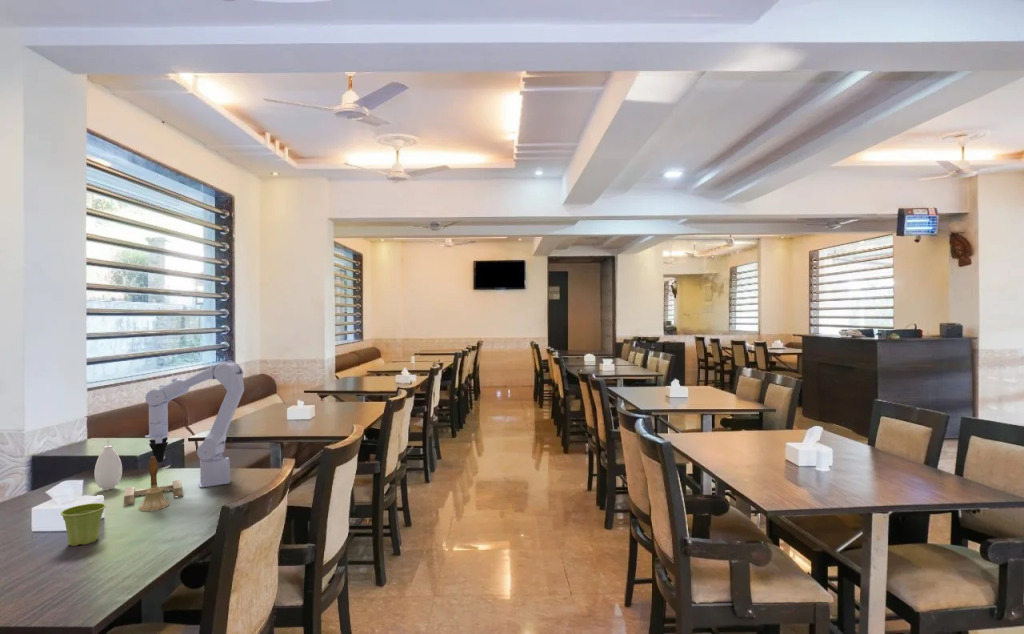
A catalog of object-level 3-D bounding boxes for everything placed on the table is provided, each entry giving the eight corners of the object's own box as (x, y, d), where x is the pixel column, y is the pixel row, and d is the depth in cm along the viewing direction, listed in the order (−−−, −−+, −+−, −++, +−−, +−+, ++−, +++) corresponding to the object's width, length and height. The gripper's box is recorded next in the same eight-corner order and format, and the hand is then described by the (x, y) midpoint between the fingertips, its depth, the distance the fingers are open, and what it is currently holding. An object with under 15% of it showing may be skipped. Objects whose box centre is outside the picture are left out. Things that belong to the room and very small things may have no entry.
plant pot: (114, 536, 147) (114, 504, 147) (76, 550, 138) (76, 516, 139) (90, 533, 150) (90, 501, 151) (52, 546, 141) (51, 513, 142)
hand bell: (159, 511, 168) (158, 459, 169) (132, 511, 168) (131, 459, 169) (175, 502, 177) (175, 453, 177) (149, 503, 177) (149, 453, 177)
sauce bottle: (90, 491, 192) (90, 439, 192) (116, 485, 198) (115, 435, 199) (100, 494, 188) (100, 441, 188) (126, 488, 194) (125, 437, 195)
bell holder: (181, 488, 193) (181, 479, 193) (182, 496, 183) (182, 487, 183) (125, 497, 184) (125, 488, 184) (124, 505, 174) (124, 496, 174)
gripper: (145, 420, 200) (145, 458, 199) (144, 426, 188) (145, 466, 187) (168, 418, 204) (168, 455, 203) (169, 424, 192) (169, 462, 191)
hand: (158, 460), depth 196 cm, fingers open, 7 cm apart
